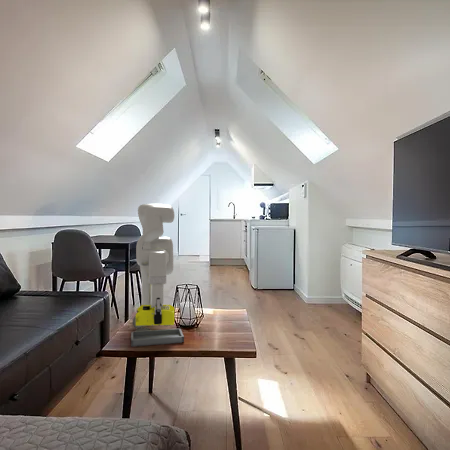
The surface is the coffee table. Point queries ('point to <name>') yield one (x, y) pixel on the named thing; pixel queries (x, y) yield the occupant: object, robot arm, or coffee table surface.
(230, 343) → the coffee table surface
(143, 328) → the pocket watch
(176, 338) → the tray
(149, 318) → the yellow toy chassis
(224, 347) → the coffee table surface
